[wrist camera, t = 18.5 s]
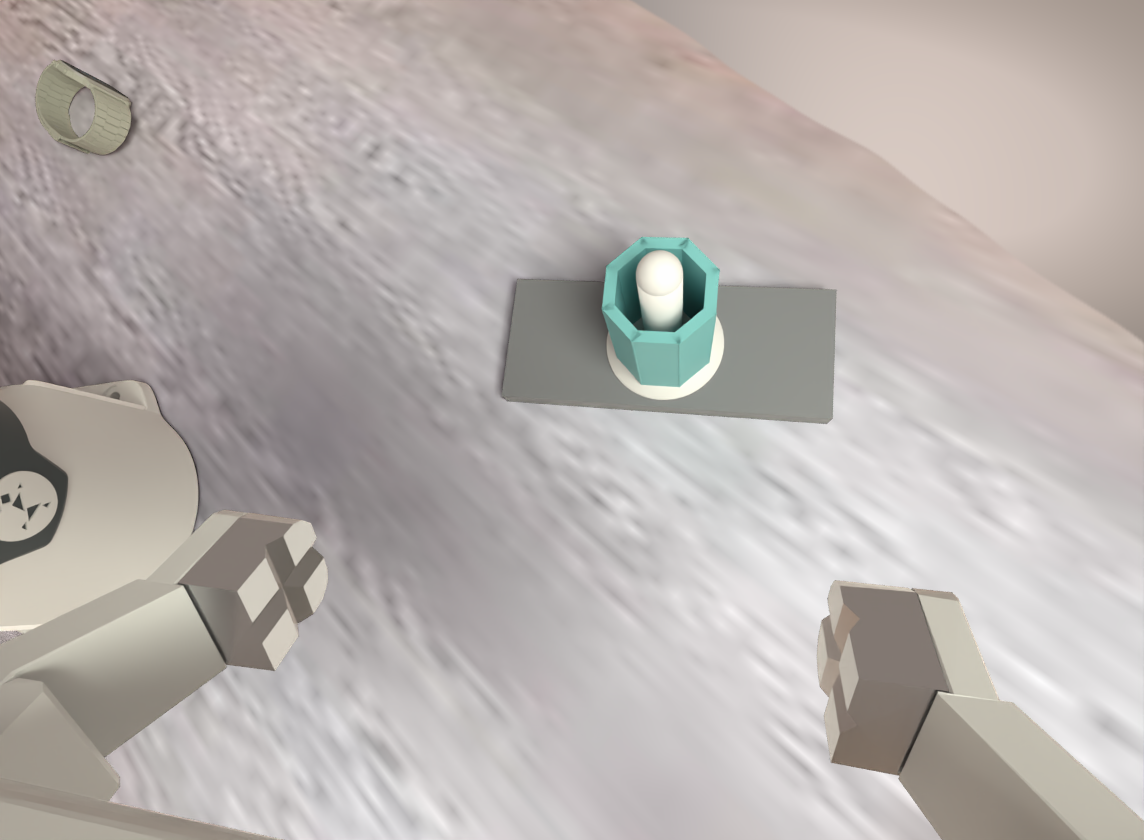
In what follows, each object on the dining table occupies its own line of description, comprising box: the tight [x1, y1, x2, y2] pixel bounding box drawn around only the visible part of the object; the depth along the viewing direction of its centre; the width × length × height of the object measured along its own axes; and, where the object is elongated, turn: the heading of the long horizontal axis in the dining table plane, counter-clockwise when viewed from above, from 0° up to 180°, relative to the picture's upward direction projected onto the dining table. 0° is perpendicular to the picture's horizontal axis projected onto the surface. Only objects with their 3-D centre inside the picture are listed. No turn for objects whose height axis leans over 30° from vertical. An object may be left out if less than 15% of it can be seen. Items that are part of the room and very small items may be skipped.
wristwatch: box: [35, 60, 131, 155], centre depth 51 cm, size 9×6×5 cm
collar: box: [601, 237, 720, 387], centre depth 35 cm, size 6×6×8 cm
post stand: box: [502, 250, 836, 424], centre depth 35 cm, size 20×8×13 cm, turn 84°
